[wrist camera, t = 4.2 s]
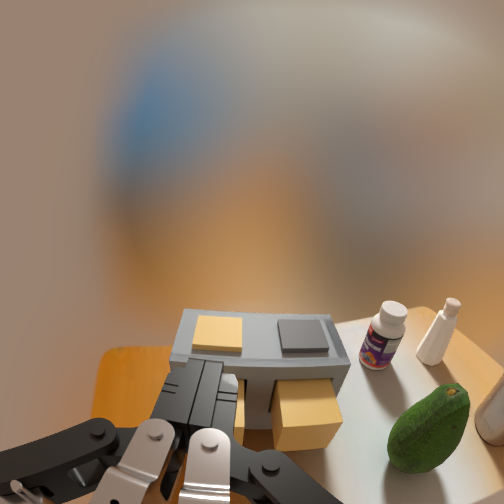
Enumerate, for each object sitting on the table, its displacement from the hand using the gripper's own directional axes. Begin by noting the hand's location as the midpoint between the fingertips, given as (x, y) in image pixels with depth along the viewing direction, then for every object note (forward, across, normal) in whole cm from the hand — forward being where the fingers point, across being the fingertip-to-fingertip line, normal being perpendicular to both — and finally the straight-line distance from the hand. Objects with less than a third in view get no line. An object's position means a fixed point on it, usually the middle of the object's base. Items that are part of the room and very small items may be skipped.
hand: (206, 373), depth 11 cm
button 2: (+9, -7, +14) cm, 18 cm away
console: (+14, -3, +18) cm, 23 cm away
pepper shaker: (+22, -32, +18) cm, 43 cm away
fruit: (+4, -20, +19) cm, 28 cm away
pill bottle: (+22, -21, +18) cm, 35 cm away
